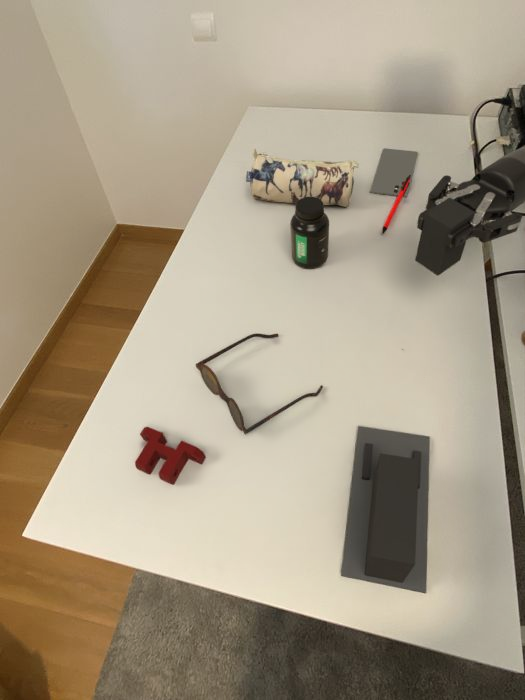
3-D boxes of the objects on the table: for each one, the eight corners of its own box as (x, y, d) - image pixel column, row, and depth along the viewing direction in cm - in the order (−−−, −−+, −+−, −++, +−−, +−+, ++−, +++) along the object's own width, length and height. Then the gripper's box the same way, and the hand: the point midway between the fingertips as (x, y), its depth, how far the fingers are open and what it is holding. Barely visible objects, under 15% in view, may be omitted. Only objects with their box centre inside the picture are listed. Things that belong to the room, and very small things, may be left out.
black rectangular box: (460, 260, 76) (475, 212, 69) (437, 276, 74) (451, 228, 67) (437, 245, 78) (449, 197, 71) (414, 260, 77) (425, 212, 69)
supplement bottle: (303, 275, 92) (302, 223, 82) (285, 253, 95) (282, 201, 86) (335, 260, 93) (337, 208, 83) (315, 240, 97) (316, 187, 87)
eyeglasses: (198, 375, 80) (192, 357, 76) (274, 331, 84) (272, 312, 80) (246, 443, 73) (243, 427, 69) (328, 391, 77) (329, 373, 73)
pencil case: (247, 207, 104) (242, 166, 96) (257, 183, 109) (253, 141, 101) (352, 217, 100) (356, 174, 92) (358, 190, 105) (361, 148, 97)
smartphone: (418, 151, 111) (407, 195, 102) (417, 154, 111) (407, 197, 102) (383, 148, 112) (370, 190, 103) (383, 150, 113) (370, 192, 104)
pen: (411, 177, 105) (412, 173, 104) (384, 236, 96) (384, 231, 95) (407, 176, 105) (408, 172, 104) (379, 235, 96) (380, 230, 95)
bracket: (202, 449, 69) (142, 424, 72) (181, 485, 67) (120, 458, 70) (205, 457, 72) (147, 433, 75) (186, 493, 69) (126, 466, 72)
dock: (429, 438, 71) (443, 404, 63) (425, 593, 59) (442, 575, 51) (357, 427, 73) (363, 393, 65) (340, 576, 61) (345, 555, 53)
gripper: (544, 223, 74) (468, 279, 69) (466, 182, 82) (392, 229, 77) (564, 179, 68) (483, 237, 63) (478, 139, 76) (398, 187, 71)
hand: (434, 232), depth 70 cm, fingers closed on black rectangular box, 4 cm apart
